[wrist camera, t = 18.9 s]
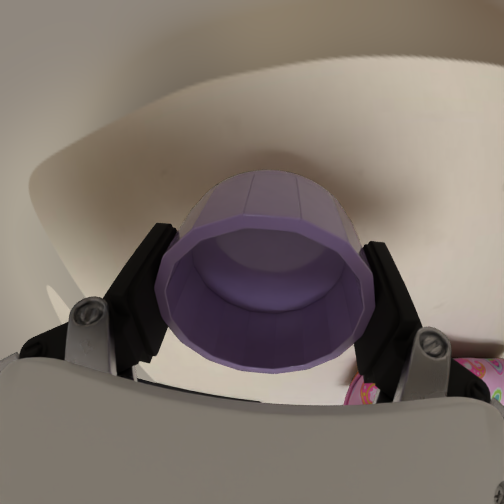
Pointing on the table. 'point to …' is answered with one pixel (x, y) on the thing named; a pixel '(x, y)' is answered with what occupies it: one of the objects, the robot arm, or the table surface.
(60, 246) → the table surface
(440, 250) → the table surface
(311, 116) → the table surface
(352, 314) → the lavender dish
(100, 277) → the table surface
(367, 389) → the pencil case
